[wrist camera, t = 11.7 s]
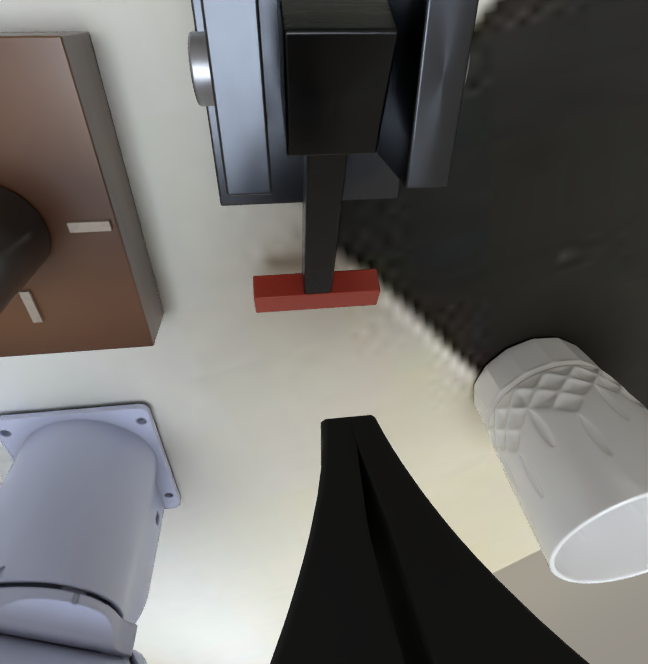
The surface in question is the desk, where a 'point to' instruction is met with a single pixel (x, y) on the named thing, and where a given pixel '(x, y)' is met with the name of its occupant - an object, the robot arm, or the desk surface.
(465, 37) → the bracket
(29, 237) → the dial
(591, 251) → the desk surface
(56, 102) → the console
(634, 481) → the white cup
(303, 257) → the lever
